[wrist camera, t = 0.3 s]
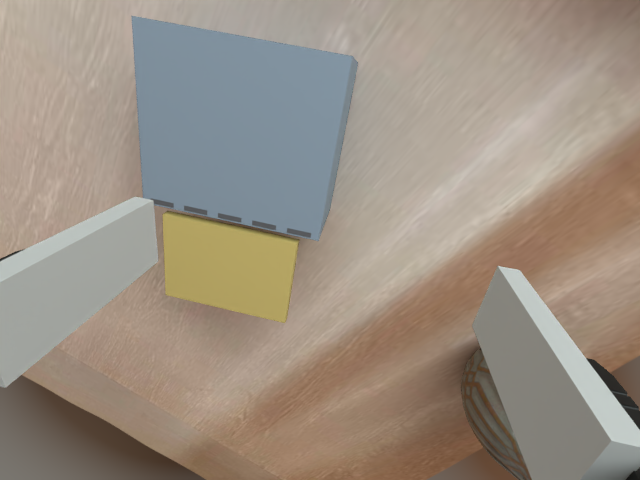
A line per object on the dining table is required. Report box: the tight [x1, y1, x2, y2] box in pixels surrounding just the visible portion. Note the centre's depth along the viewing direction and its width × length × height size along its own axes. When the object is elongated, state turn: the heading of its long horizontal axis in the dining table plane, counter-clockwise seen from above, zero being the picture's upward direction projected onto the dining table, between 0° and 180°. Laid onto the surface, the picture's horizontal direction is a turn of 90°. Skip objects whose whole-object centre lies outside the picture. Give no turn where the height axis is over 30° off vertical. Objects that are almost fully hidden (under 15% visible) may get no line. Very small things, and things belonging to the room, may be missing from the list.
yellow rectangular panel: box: [163, 211, 299, 323], centre depth 37 cm, size 10×14×1 cm
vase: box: [461, 348, 532, 480], centre depth 39 cm, size 13×13×18 cm
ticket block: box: [132, 16, 358, 241], centre depth 34 cm, size 16×18×9 cm
